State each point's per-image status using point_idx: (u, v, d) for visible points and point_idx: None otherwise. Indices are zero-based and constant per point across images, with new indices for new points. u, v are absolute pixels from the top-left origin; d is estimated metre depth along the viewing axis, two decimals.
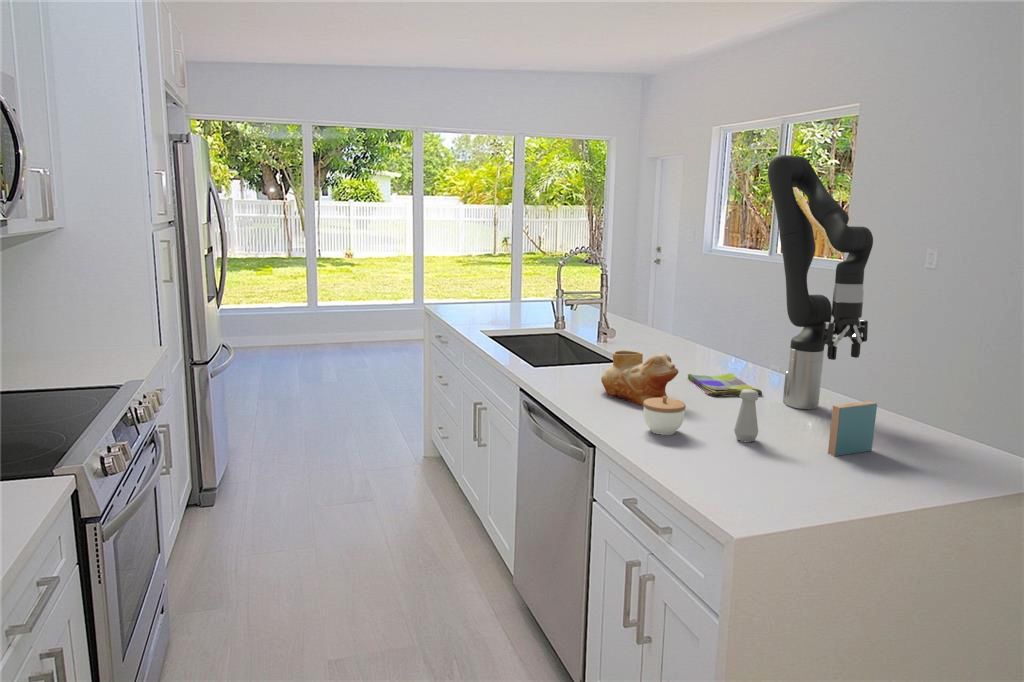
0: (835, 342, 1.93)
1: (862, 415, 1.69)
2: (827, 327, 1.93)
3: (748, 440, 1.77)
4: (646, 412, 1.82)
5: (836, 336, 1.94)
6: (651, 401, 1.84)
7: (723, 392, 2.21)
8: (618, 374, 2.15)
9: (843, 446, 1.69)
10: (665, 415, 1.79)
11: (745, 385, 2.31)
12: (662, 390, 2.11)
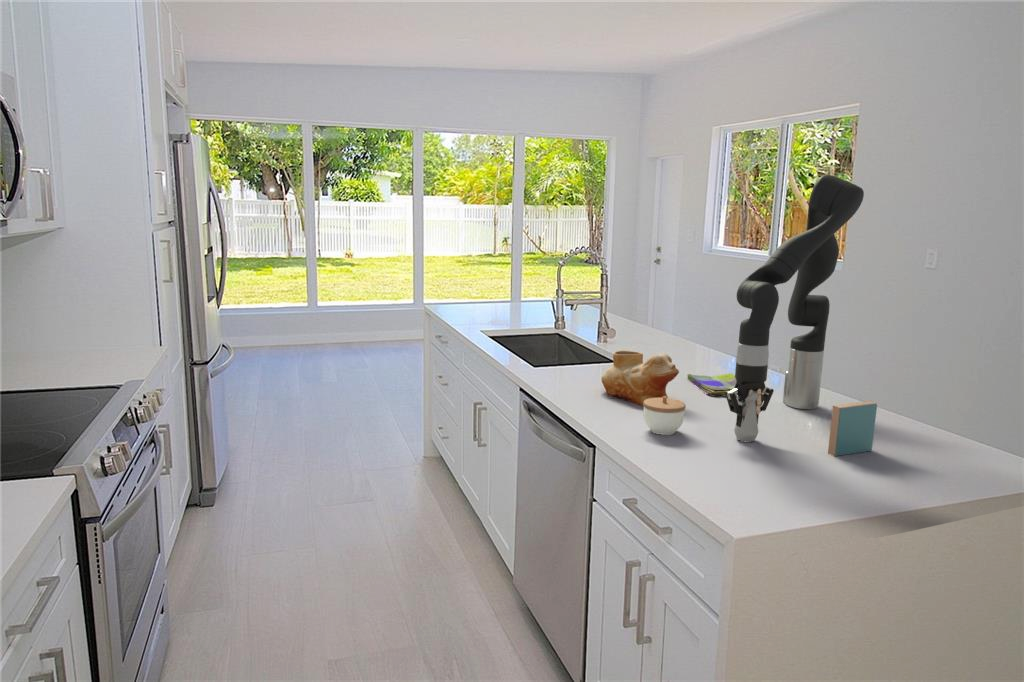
0: (743, 411, 1.76)
1: (862, 415, 1.69)
2: (729, 398, 1.75)
3: (748, 440, 1.77)
4: (646, 412, 1.82)
5: (742, 404, 1.76)
6: (651, 401, 1.84)
7: (722, 392, 2.21)
8: (619, 374, 2.15)
9: (843, 446, 1.69)
10: (665, 415, 1.79)
11: None
12: (662, 390, 2.11)
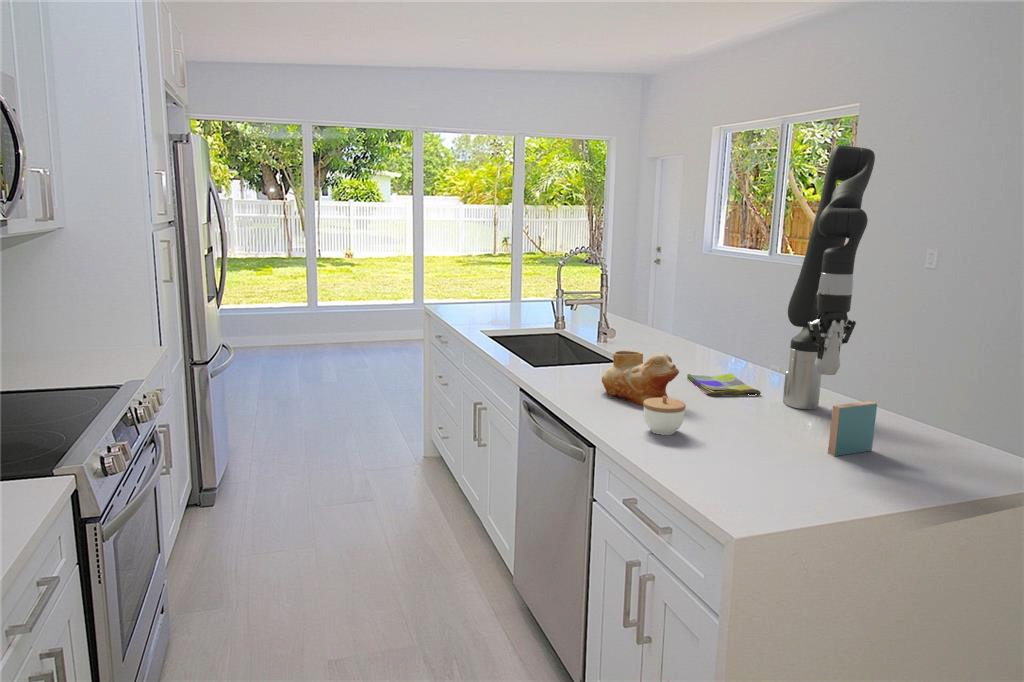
0: (825, 343, 1.73)
1: (862, 415, 1.69)
2: (812, 329, 1.71)
3: (830, 373, 1.74)
4: (646, 412, 1.82)
5: (824, 336, 1.73)
6: (651, 401, 1.84)
7: (721, 392, 2.21)
8: (619, 374, 2.15)
9: (843, 446, 1.69)
10: (665, 415, 1.79)
11: (744, 385, 2.31)
12: (663, 390, 2.11)
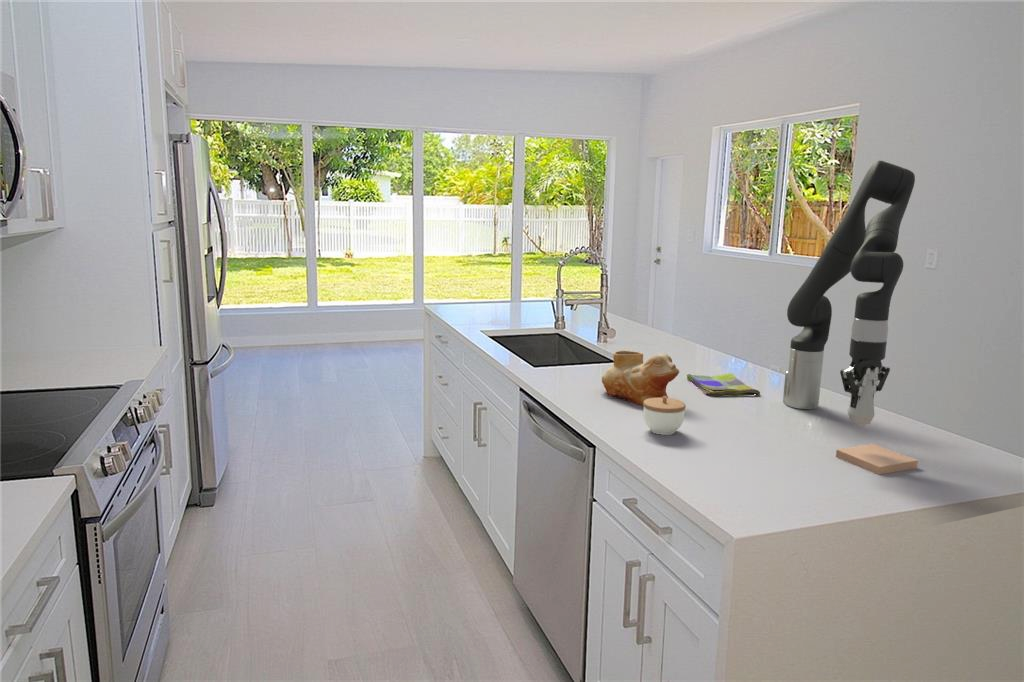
0: (859, 391, 1.65)
1: None
2: (845, 377, 1.64)
3: (864, 422, 1.66)
4: (646, 412, 1.82)
5: (858, 384, 1.65)
6: (651, 401, 1.84)
7: (721, 392, 2.21)
8: (619, 374, 2.15)
9: None
10: (665, 415, 1.79)
11: (744, 385, 2.31)
12: (663, 390, 2.11)
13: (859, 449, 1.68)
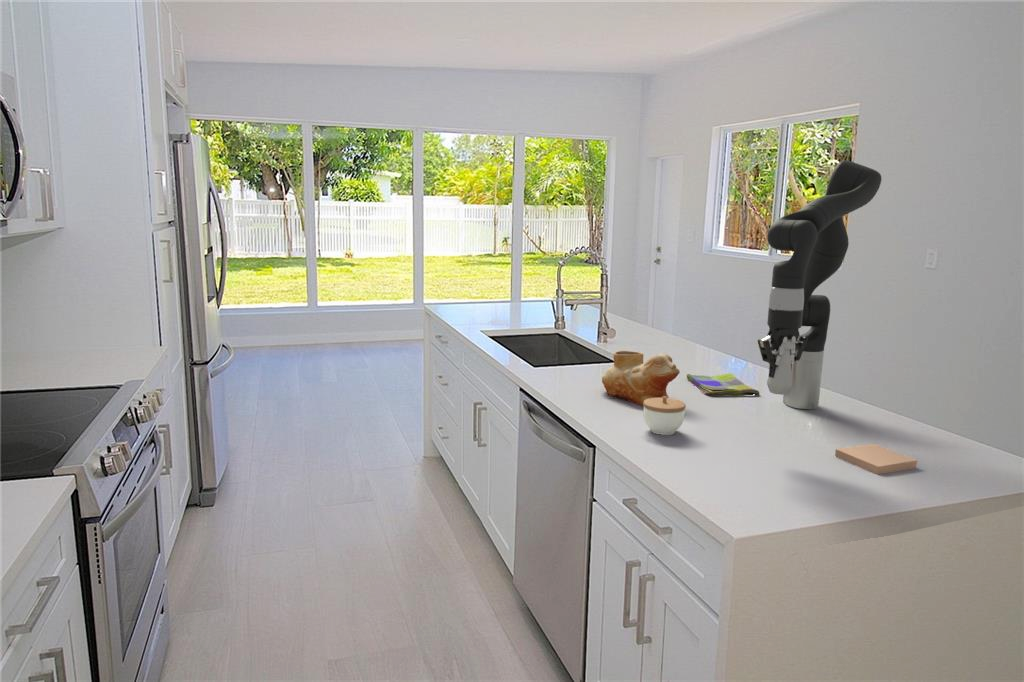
0: (777, 360, 1.65)
1: None
2: (763, 346, 1.64)
3: (782, 392, 1.66)
4: (646, 412, 1.82)
5: (776, 353, 1.65)
6: (651, 401, 1.84)
7: (720, 392, 2.21)
8: (619, 374, 2.15)
9: None
10: (665, 415, 1.79)
11: (743, 385, 2.31)
12: (663, 390, 2.11)
13: (858, 449, 1.68)
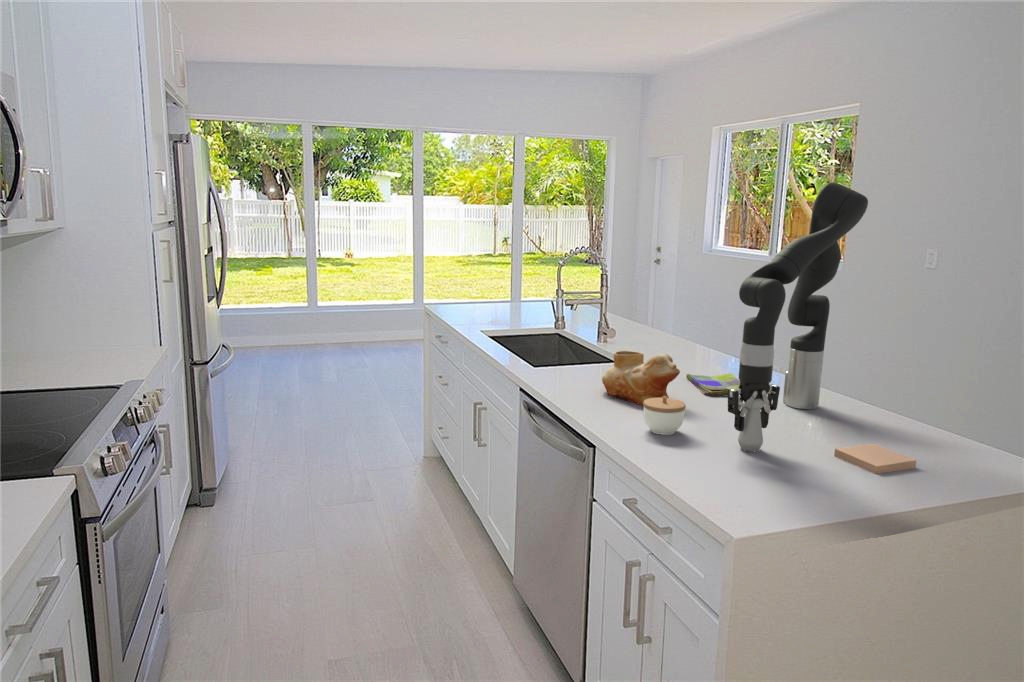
0: (742, 412, 1.68)
1: None
2: (731, 395, 1.67)
3: (753, 450, 1.70)
4: (646, 412, 1.82)
5: (743, 405, 1.68)
6: (651, 401, 1.84)
7: (719, 392, 2.21)
8: (619, 374, 2.15)
9: None
10: (665, 415, 1.79)
11: None
12: (663, 390, 2.11)
13: (857, 449, 1.68)
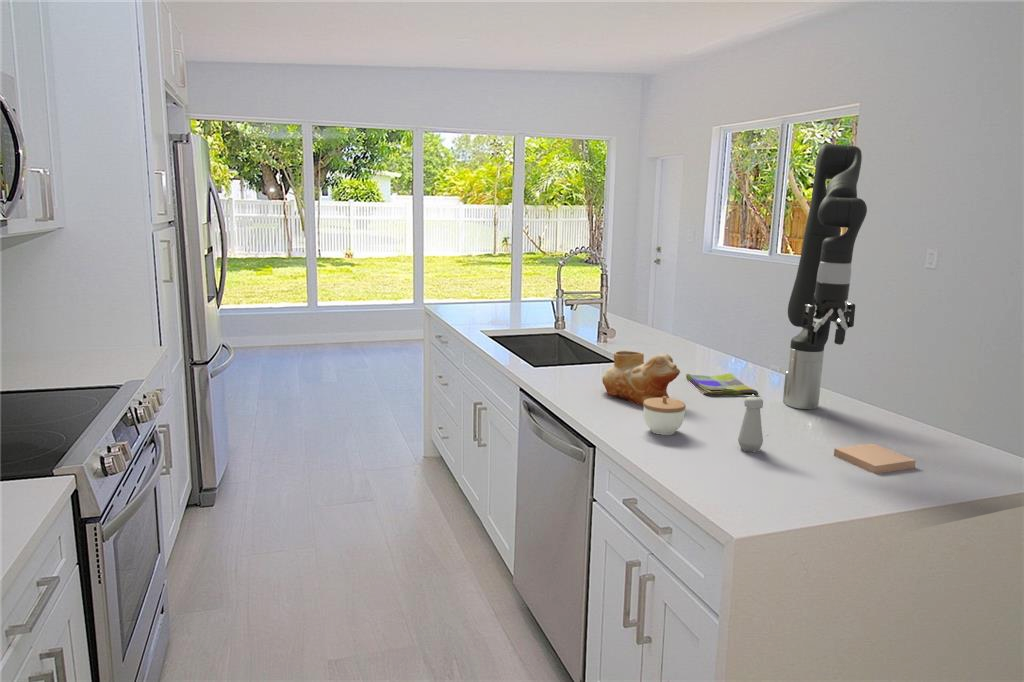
0: (816, 327, 1.73)
1: None
2: (807, 310, 1.73)
3: (753, 450, 1.70)
4: (646, 412, 1.82)
5: (817, 320, 1.74)
6: (651, 401, 1.84)
7: (718, 392, 2.21)
8: (620, 374, 2.15)
9: None
10: (665, 415, 1.79)
11: (742, 385, 2.31)
12: (664, 390, 2.11)
13: (857, 448, 1.69)
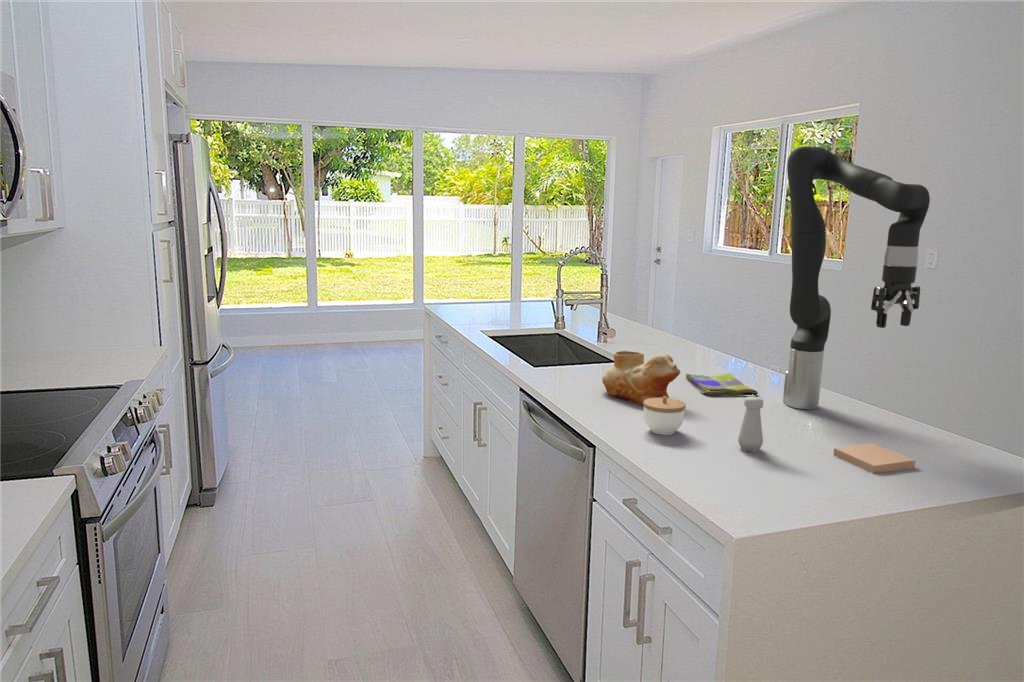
0: (886, 309, 1.80)
1: None
2: (878, 292, 1.79)
3: (753, 450, 1.70)
4: (646, 412, 1.82)
5: (887, 302, 1.80)
6: (651, 401, 1.84)
7: (718, 392, 2.21)
8: (620, 374, 2.14)
9: None
10: (665, 415, 1.79)
11: (742, 385, 2.31)
12: (664, 390, 2.11)
13: (857, 448, 1.69)
